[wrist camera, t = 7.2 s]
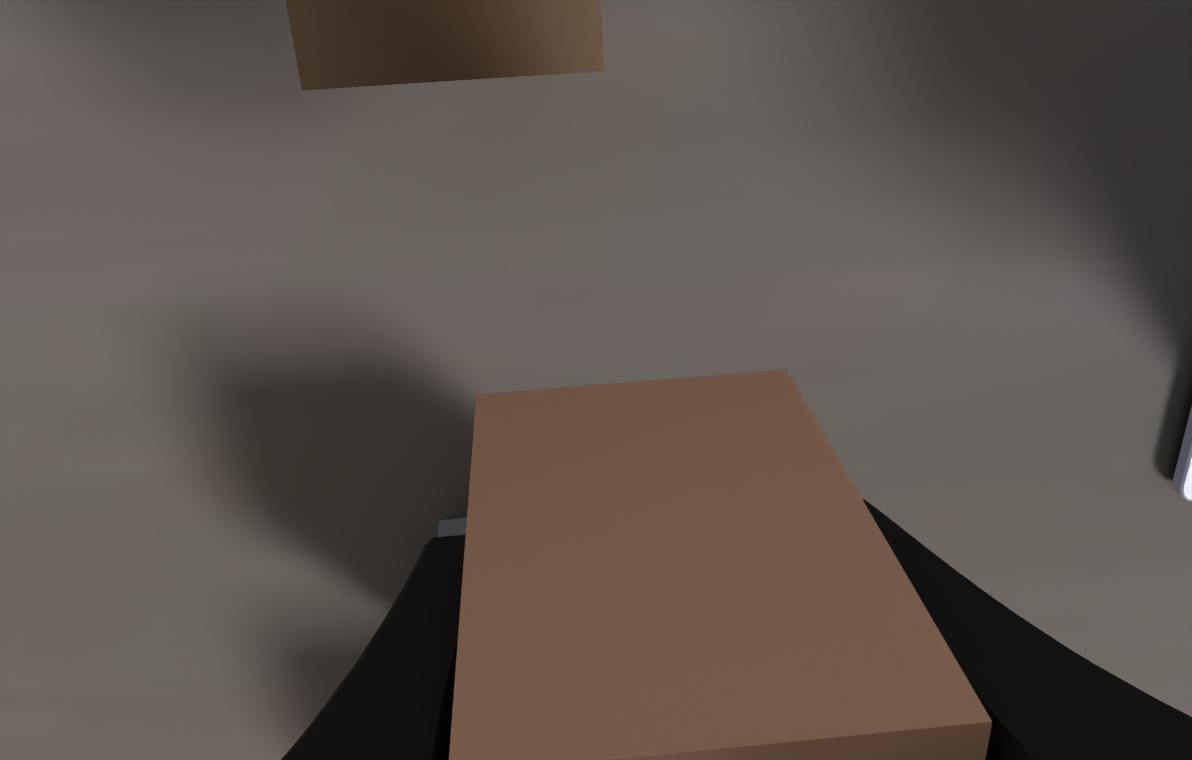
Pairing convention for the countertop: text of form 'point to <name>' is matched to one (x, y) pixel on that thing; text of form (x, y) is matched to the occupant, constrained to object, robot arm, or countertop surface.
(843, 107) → the countertop surface
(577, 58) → the walnut block
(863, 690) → the terracotta block
